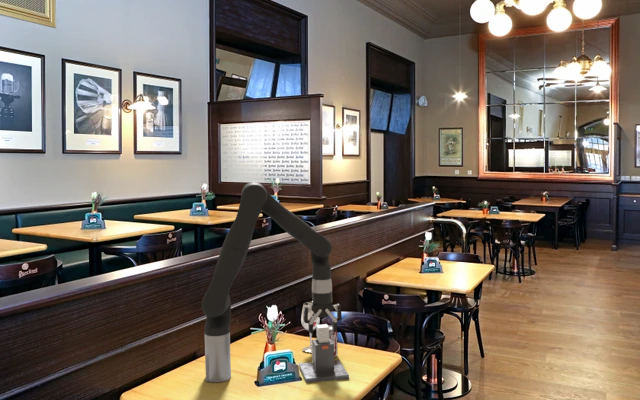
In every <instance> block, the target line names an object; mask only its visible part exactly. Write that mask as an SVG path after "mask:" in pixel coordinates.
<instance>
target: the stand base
mask: <svg viewBox="0 0 640 400" xmlns="http://www.w3.org/2000/svg"><path fill="white" fill-rule="evenodd" d="M311 360H312V361H311V362H310V361H309V362H299V363H298V368H299V367H300V368H299V370H300V372H301V375H302V376H303V377H302V378H303V379H304V380H305V381H304V382H305V383H306V384H308V383H319V382H328V381H329V382H330V381H340V380H350V374H349V373H348V371H347V370H346V368H345V367H344V365H343V363H342V362H341V361H340V359H335V357H334V343H333V342H332V340H331V339H330V338H329V344H317V338H316V339H313V338H312V353H311Z"/></svg>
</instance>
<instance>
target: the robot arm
mask: <svg viewBox="0 0 640 400" xmlns="http://www.w3.org/2000/svg"><path fill="white" fill-rule="evenodd" d="M262 212H263V214H266V216H268V217H269V218H271V219H272V220H273V221H274V222H275V223H276V224H277V225H278V226H279V227H280V228H282V229H283V230H284V231H285V232H286V233H287V234H288V235H289V236H291V237H292V238H293V239H295V240H296V241H298V242H299V243H301V244H303V246H305V247H306V248H307V249H308V250H309V251H310V257H311V263H312V264H311V266H312V267H311V273H312V274H311V275H312V276H311V278H312V279H311V280H312V281H311V299H312V300H311V302H312V306H311V307H307V306H304V318H303V320H304V322H305V323H308V325H309V330H308V332H309V334H310V333H311V334H312V335H313V334H314V330H313V324H312V323H313V322H314V321H315V320H316V318H317V317H319V318H328V317H330V319H331V320H332V321H331V324H332V325H331V326H332V331H333V332H335V331H337V329H338V322H340V321H342V320H343V319H342V306H341V304H340V303H336V304H333V284H332V283H333V282H332V267H331V263H330V260H329V257H330V255H331V253H332V251H333V246H332V243H331V242H330V240H328V238H326V237H324V235H322V234H320V233H319V232H317V231H316V230H315V229H313V228H312V227H311V226H310V225H309V224H308V223H307V222H305V220H303V219H301V218H300V217H298V216H297V215H296V214H294V213H293V212H292V211H290V209H288V208H286V207H285V206H284V205H282V204H281V203H280V202H279V201H278V200H276V199H275V198H274V197H273V196H272V195H271V193H270V192H269V191H268V190H267V189H266V188H265V186H264V185H263V184H262V183H260V182H257V181H251V182H248V183H247V184H245V185H244V186H243V188H242V190H241V193H240V203H239V206H238V209H237V214H236V215H235V216H236V217H235V219H234V221H233V223H232V225H231V226H230V229H229V230H228V232H227V233H226V236H225V239H224V241H223V244H222V246H221V249H220V252H219V255H218V258H217V262H216V264H215V268H214V272H213V276H212V278H211V281H210V283H209V286H208V288H207V289H206V292H205V294H203V295H204V296H203V298H202V300H201V310H202V312H203V314H204V315H205V316H206V319H205V324H204V328H203V329H204V359H205V360H204V363H205V365H204V366H205V367H204V369H205V382H210V383H222V382H223V383H224V382H226V381H228V380H230V379H231V378H232V371H231V370H232V367H231V364H232V363H231V361H232V360H231V331H230V329H231V322H232V301H231V297H230V290H231V288H232V284H233V283H234V280H235V279H236V277H237V276H238V274H239V272H240V270H241V269H242V266H243V264H244V263H245V260H246V258H247V257H246V256H247V255H248V251H249V248H250V245H251V242H252V239H253V234H254V230H255V226H256V224H257V221H258V219H259V217H260V214H261V213H262ZM334 309H335V311H336V317H335V316H334V315H333V314H332V312H333V310H334ZM310 310H312V311H313V314H312V315H311V317H310V319H309V320H308V313H309V312H310ZM337 332H338V331H337Z"/></svg>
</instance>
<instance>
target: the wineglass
mask: <svg viewBox="0 0 640 400" xmlns="http://www.w3.org/2000/svg"><path fill="white" fill-rule="evenodd" d="M304 306H307V307H311V306H312V301H308V302H304V303H303V306H302V309H301V310H302V311H301V318H300V321H301V326H302V327H303V328H304V329H305V330H306V331H309V325H308V323H305V322H304V320H303V318H304ZM312 314H313V311H312V310H310V312H309V313H308V320H309V319H310V317H311V315H312ZM320 320H321V319H320V318H319V317H317V318H316V320H315V321H314V322H313V323H312V324H313V331H314V330H317V329H316V325H320ZM312 336H313V334H311V333H310V332H309V346H305V347H303V348H302V349H303V351H305V352H309V353H308V354H312V340H313V338H312ZM303 351H302V352H303ZM305 352H304V353H305Z"/></svg>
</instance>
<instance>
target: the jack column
mask: <svg viewBox="0 0 640 400" xmlns="http://www.w3.org/2000/svg"><path fill="white" fill-rule="evenodd" d="M328 326H329V325H328V324H327V323H325V324H319V325H316V329H315V330H316V339H317V344H329V327H328Z"/></svg>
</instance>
